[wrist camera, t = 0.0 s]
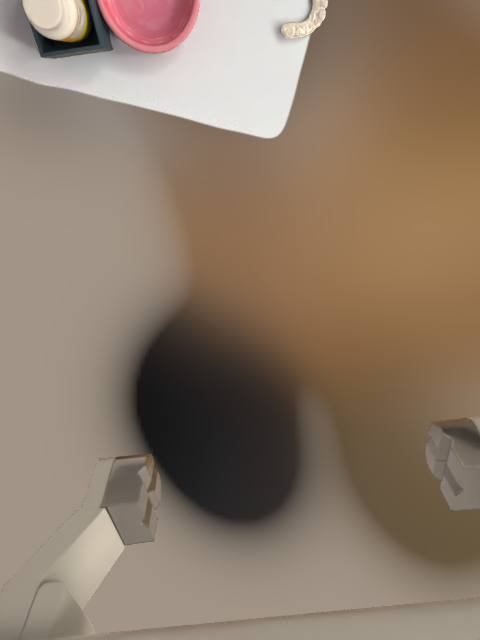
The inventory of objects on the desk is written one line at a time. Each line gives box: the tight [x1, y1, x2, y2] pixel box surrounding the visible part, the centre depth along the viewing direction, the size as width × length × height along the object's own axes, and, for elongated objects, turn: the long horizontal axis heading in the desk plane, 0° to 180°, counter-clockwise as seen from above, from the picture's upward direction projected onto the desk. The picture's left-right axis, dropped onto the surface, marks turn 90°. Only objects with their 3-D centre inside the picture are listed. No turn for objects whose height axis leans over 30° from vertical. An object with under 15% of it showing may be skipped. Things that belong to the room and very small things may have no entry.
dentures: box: [281, 0, 328, 38], centre depth 50 cm, size 7×5×1 cm
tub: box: [29, 0, 113, 58], centre depth 48 cm, size 8×8×5 cm
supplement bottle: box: [22, 0, 94, 43], centre depth 45 cm, size 6×6×10 cm
